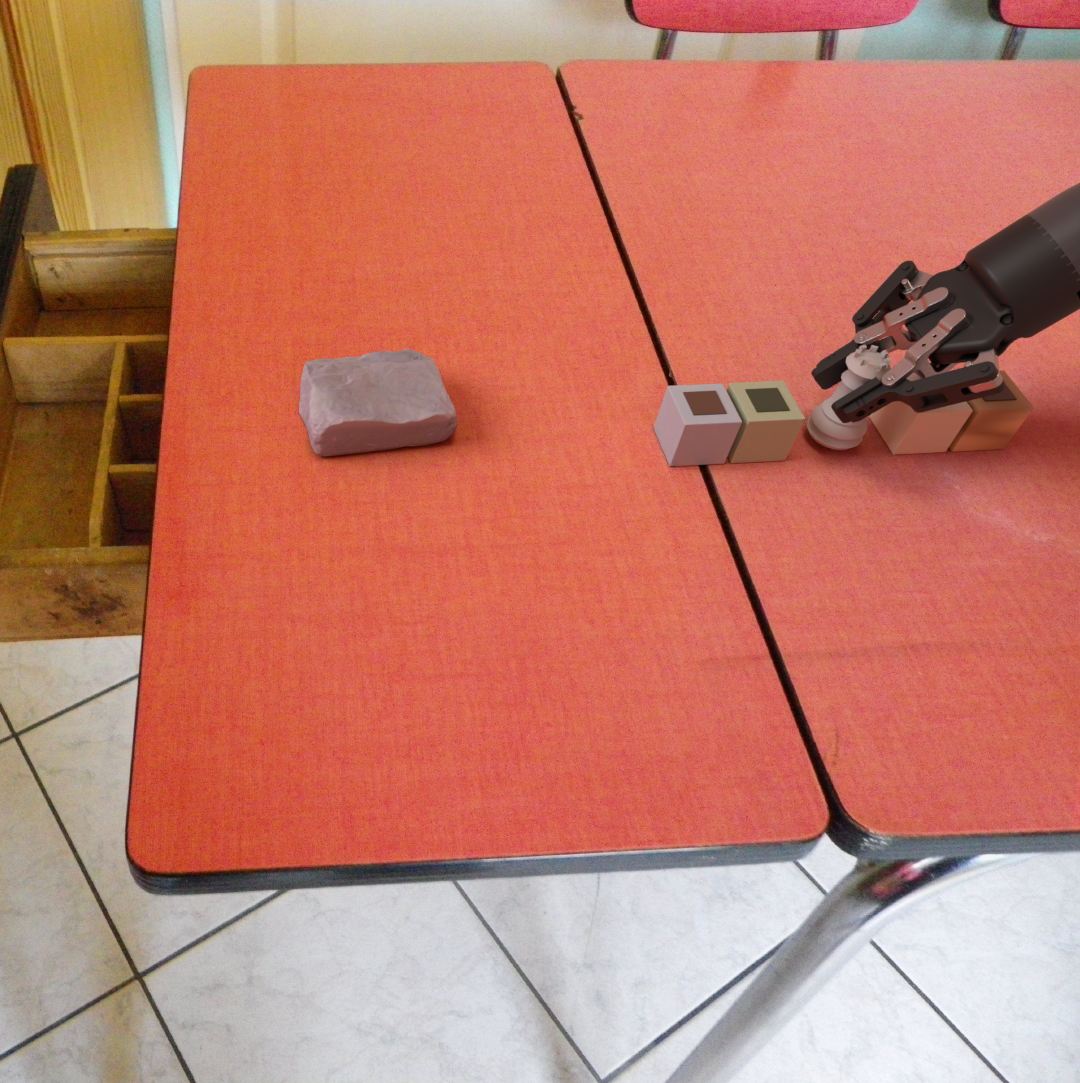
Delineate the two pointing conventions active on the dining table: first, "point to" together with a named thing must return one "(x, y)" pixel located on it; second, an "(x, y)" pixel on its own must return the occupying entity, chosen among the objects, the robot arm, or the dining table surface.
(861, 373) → the rook chess piece
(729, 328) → the dining table surface
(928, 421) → the block
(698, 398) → the block
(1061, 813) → the dining table surface
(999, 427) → the block
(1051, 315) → the robot arm
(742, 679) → the dining table surface
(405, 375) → the stone block
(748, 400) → the block
